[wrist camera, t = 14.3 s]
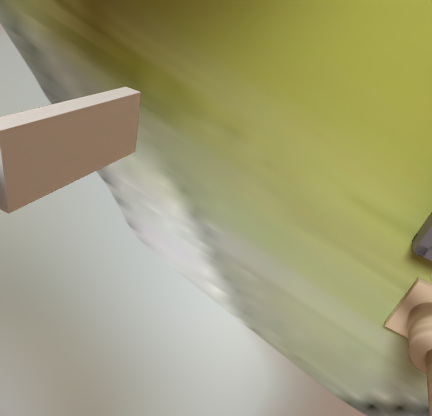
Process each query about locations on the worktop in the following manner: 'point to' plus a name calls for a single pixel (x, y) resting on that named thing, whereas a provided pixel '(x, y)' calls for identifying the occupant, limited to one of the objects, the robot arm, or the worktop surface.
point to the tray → (424, 240)
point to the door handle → (416, 327)
